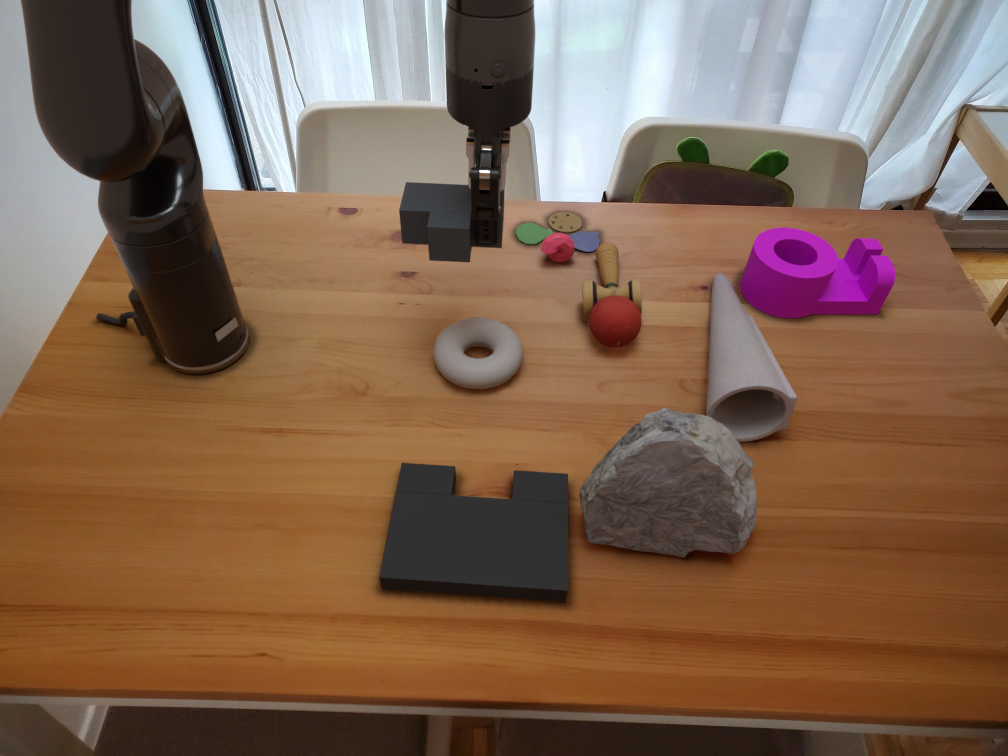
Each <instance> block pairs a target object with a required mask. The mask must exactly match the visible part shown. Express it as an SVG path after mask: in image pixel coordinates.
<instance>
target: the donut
mask: <svg viewBox="0 0 1008 756" xmlns="http://www.w3.org/2000/svg"><path fill="white" fill-rule="evenodd" d="M473 347H483V348H487V349H488V350H490V351H492V353H491V354H490V355H488V356H486V357H482V358H474V357H471V356H469V355H467V354H465V351H466V350H468V349H470V348H473ZM523 348H524V347H523V345H522V342H521V340H520V337H519V336H518V334H517V333H516V332H515V330H513V329H512V328H511V327H510V326H509V325H507V324H505V323H504V322H502V321H500V320H496V319H493V318H490V317H480V316H479V317H478V316H472V317H467V318H463V319H460V320H458V321H454V322H453V323H450V325H448V326H447V327H445V328H444V329H443V330H442V331H441V332H440V334H439V335H438V337H437V339H436V340H435V342H434V349H433V355H432V356H433V359H434V362H435V365H436V366H435V367H436V369H437V370H438V371H439V372H440V374H441V375H442V376H443V377H444V378H445V379H446V380H448V381H449V382H451V383H453V384H454V385H456V386H459V387H461V388H464V389H470V390H471V389H472V390H486V389H490V388H496V387H498V386H500V385H502V384H504V383H506V382H508V381H509V380H510V379H511V378H512V377H513V376H514V375H515V374H516V373H517V372H518V371H519V368H520V366H521V364H522V362H523V356H524V355H523V354H524V353H523V352H524V349H523Z"/></svg>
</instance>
